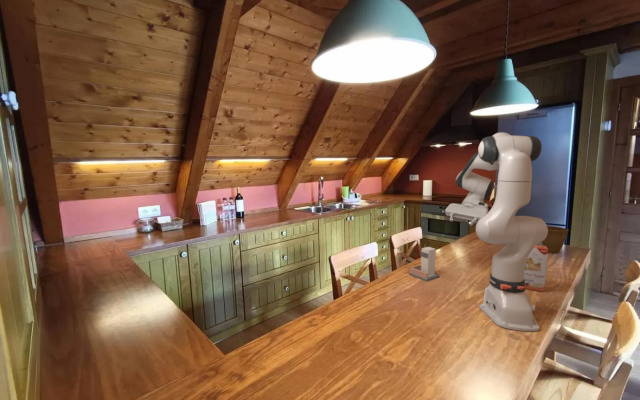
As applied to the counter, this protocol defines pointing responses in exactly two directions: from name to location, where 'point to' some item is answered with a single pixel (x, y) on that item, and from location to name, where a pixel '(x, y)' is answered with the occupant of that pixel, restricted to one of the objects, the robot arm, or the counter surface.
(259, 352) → the counter surface
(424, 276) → the corner arena
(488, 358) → the counter surface
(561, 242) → the plant pot
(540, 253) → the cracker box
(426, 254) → the painted block
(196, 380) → the counter surface
